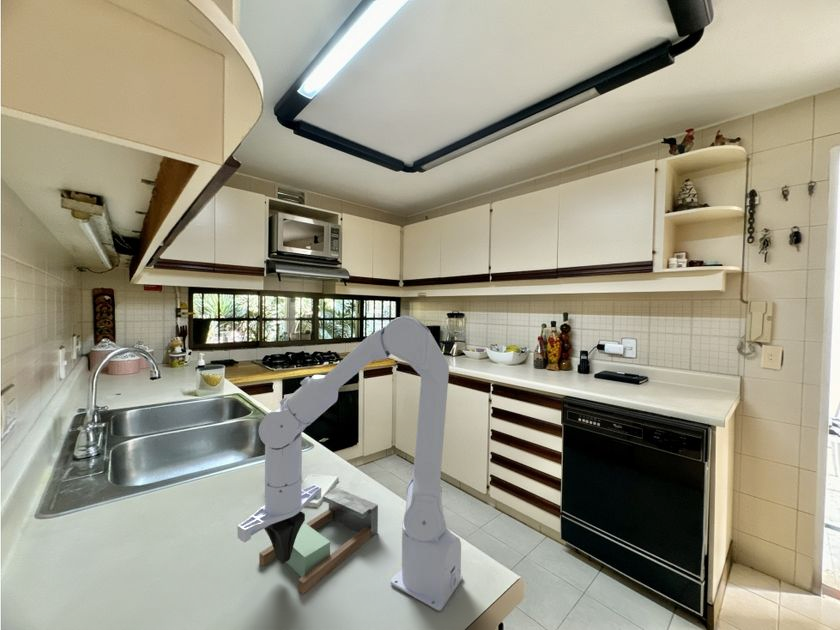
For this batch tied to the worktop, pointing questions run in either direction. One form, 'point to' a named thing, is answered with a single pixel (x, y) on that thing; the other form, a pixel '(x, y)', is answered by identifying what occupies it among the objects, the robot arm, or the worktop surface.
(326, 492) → the hard drive
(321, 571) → the guide bay
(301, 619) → the worktop surface
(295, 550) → the sage block
